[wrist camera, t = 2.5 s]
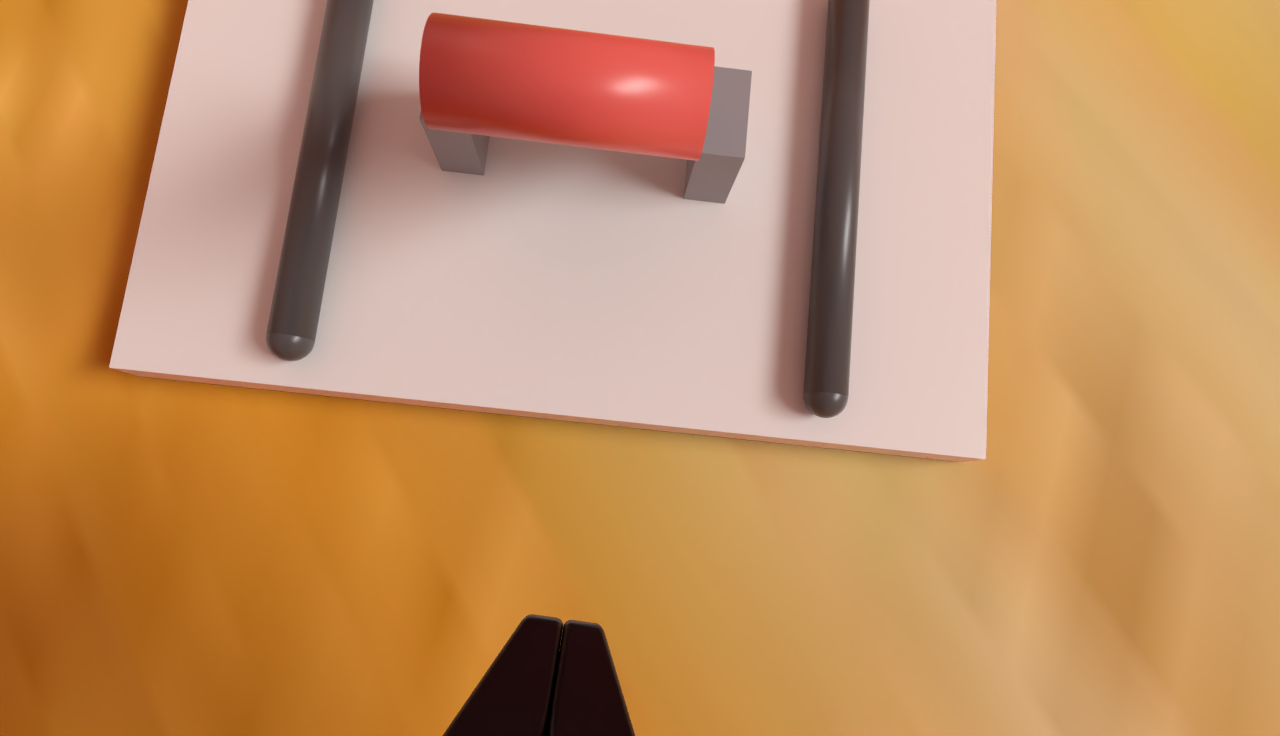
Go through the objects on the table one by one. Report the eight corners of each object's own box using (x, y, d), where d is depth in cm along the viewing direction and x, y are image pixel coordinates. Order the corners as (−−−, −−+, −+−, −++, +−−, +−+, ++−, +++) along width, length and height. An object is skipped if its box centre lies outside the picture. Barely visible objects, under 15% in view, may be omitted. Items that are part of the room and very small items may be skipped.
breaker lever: (673, 156, 19) (702, 161, 11) (498, 135, 18) (416, 127, 11) (683, 83, 18) (719, 40, 11) (503, 61, 18) (421, 3, 11)
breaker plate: (962, 462, 20) (1047, 451, 16) (138, 376, 19) (29, 344, 16) (974, 23, 22) (1053, -75, 19) (232, -73, 21) (156, -196, 18)
